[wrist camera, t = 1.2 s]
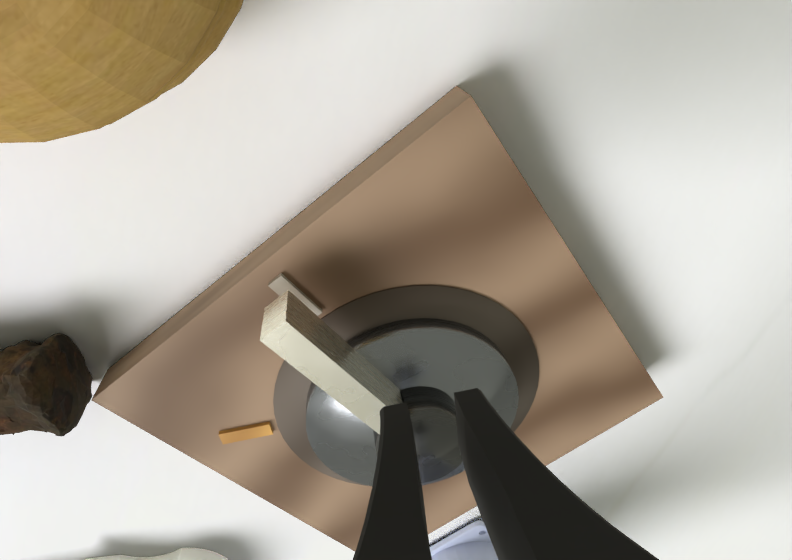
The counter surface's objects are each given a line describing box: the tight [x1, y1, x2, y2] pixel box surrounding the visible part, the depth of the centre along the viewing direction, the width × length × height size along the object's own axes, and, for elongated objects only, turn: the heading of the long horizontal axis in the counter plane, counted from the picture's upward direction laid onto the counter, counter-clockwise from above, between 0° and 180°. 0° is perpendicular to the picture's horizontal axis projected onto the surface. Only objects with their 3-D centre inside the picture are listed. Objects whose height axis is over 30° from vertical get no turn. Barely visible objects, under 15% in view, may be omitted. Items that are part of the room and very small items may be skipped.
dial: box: [260, 290, 519, 486], centre depth 21 cm, size 14×10×3 cm
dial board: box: [92, 86, 663, 551], centre depth 25 cm, size 20×20×2 cm
